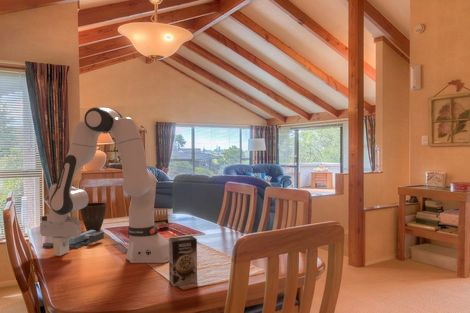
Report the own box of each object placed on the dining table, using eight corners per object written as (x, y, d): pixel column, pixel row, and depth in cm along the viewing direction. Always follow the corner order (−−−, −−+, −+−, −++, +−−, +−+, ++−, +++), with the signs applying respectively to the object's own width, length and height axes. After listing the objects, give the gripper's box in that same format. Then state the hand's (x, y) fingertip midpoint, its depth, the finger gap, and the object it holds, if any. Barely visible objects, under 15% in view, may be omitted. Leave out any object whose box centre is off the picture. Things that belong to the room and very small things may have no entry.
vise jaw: (109, 236, 195) (109, 229, 195) (88, 245, 178) (88, 238, 178) (91, 235, 198) (91, 229, 198) (68, 243, 181) (68, 237, 180)
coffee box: (173, 287, 127) (172, 241, 126) (169, 281, 133) (168, 237, 132) (198, 282, 130) (197, 238, 130) (192, 277, 136) (192, 234, 136)
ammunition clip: (151, 229, 218) (151, 210, 217) (150, 229, 219) (150, 209, 219) (168, 227, 222) (168, 208, 222) (167, 227, 224) (167, 208, 224)
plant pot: (97, 227, 228) (97, 201, 227) (112, 229, 219) (111, 203, 218) (75, 231, 215) (74, 205, 215) (89, 234, 207) (89, 207, 206)
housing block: (69, 252, 171) (68, 235, 171) (60, 255, 166) (59, 238, 165) (62, 251, 172) (62, 235, 172) (53, 255, 166) (53, 238, 166)
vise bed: (101, 238, 198) (101, 230, 198) (77, 248, 178) (76, 239, 178) (70, 236, 203) (69, 228, 202) (43, 246, 183) (42, 237, 183)
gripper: (83, 215, 169) (84, 245, 169) (47, 214, 174) (48, 243, 174) (74, 218, 163) (75, 248, 163) (37, 217, 168) (38, 246, 168)
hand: (61, 245), depth 169 cm, fingers closed on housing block, 3 cm apart
